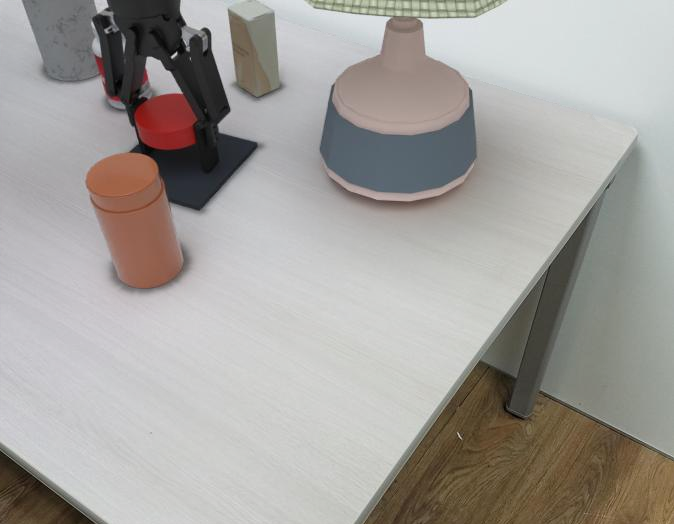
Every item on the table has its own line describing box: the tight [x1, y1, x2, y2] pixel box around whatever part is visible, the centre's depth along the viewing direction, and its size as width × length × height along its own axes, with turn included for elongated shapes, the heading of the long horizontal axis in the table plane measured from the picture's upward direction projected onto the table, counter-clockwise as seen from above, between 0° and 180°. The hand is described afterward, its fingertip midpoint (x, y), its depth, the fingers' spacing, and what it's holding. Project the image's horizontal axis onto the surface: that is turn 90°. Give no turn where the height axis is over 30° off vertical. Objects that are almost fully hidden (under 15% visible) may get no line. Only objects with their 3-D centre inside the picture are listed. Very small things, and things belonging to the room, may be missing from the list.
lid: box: [134, 92, 206, 150], centre depth 83 cm, size 8×8×2 cm
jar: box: [84, 152, 185, 289], centre depth 71 cm, size 7×7×12 cm
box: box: [226, 0, 281, 98], centre depth 95 cm, size 5×4×11 cm
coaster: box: [128, 132, 258, 211], centre depth 88 cm, size 14×14×1 cm
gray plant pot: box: [21, 0, 100, 82], centre depth 100 cm, size 10×10×12 cm
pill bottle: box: [91, 21, 153, 110], centre depth 94 cm, size 6×6×11 cm
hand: (180, 157), depth 87 cm, fingers closed on lid, 8 cm apart
